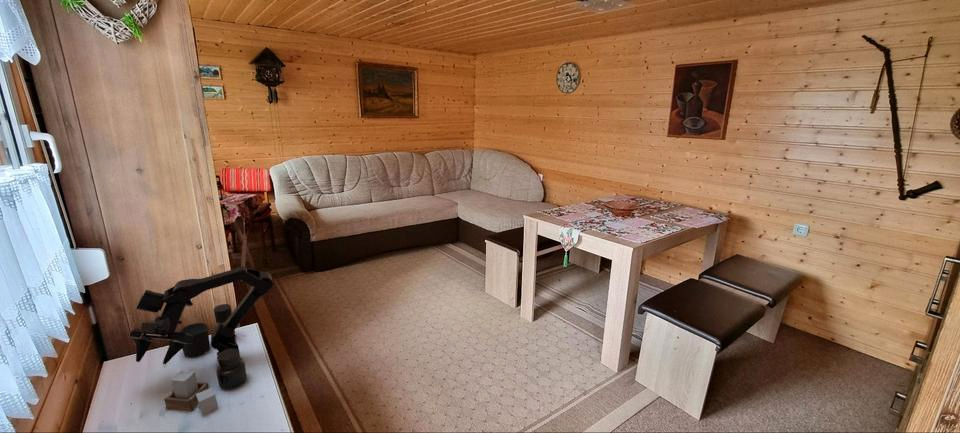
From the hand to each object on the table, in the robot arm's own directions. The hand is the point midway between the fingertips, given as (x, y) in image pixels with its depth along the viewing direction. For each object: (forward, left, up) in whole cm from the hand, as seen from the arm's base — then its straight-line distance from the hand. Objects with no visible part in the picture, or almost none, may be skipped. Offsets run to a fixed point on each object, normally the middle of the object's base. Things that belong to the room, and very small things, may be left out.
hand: (150, 362), depth 134 cm
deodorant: (-26, -22, -14) cm, 36 cm away
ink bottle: (-20, +9, -14) cm, 26 cm away
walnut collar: (-7, +8, -14) cm, 18 cm away
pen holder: (-15, -21, -14) cm, 29 cm away
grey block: (-11, +16, -14) cm, 24 cm away
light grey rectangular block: (-7, +8, -14) cm, 18 cm away
